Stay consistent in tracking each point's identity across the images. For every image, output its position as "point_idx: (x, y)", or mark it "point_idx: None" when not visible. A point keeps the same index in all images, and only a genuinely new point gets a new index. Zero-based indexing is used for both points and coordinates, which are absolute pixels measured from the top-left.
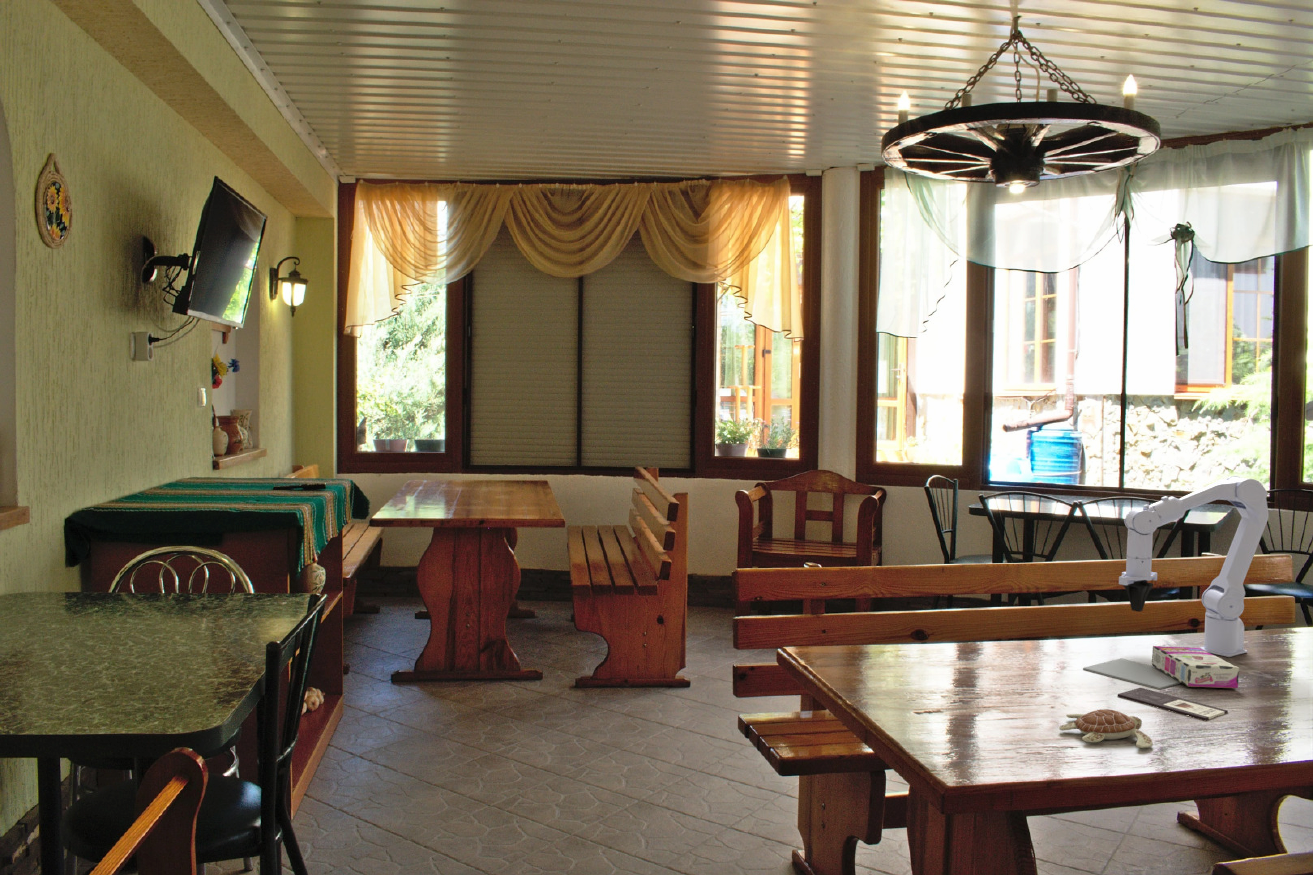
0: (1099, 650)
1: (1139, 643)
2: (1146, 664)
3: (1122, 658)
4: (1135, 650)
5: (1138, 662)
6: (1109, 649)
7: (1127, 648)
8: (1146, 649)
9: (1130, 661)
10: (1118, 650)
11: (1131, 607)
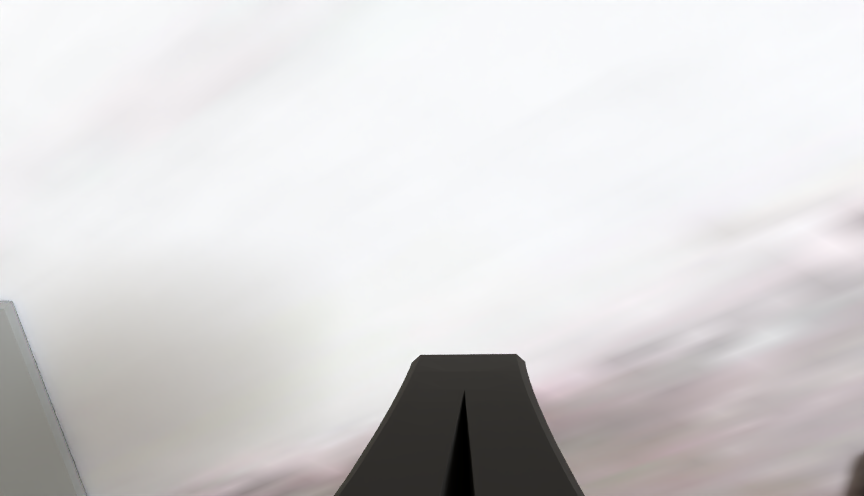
0: (53, 14)
1: (739, 51)
2: (62, 469)
3: (5, 316)
4: (405, 194)
5: (46, 422)
6: (189, 42)
7: (404, 112)
8: (539, 224)
9: (4, 386)
10: (246, 113)
11: (405, 387)
